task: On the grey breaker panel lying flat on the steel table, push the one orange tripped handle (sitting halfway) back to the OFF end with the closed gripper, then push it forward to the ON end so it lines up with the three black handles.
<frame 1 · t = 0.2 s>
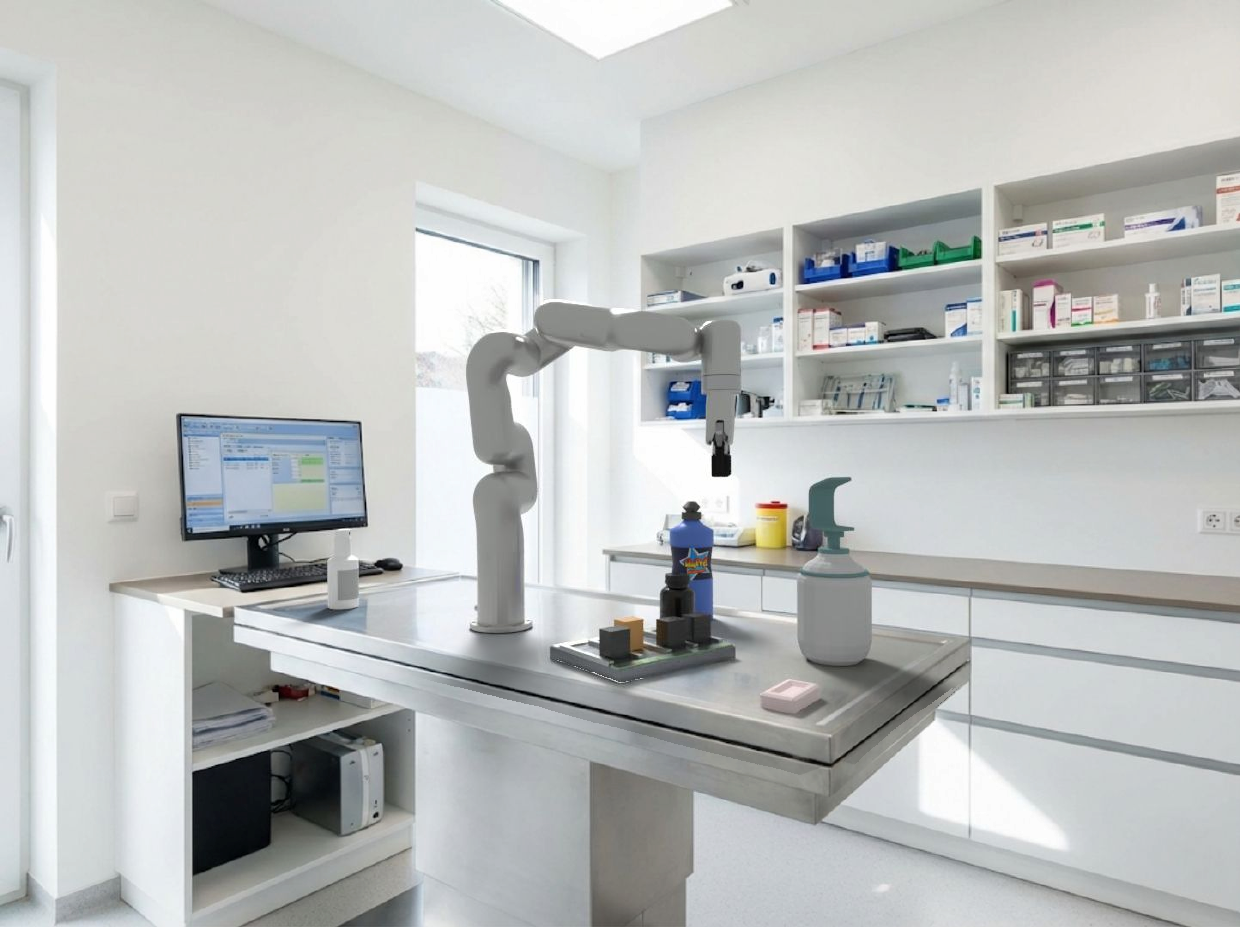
hand: (721, 476, 153), 31 cm above the table, tool pointing down, fingers open, 9 cm apart
soap bottle: (833, 660, 137), on the table
soap bar: (790, 706, 114), on the table
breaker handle: (628, 633, 137), point 5 cm above the table, slide at 4.0 cm
supplement bottle: (677, 636, 156), on the table
water bottle: (691, 619, 172), on the table
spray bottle: (343, 608, 186), on the table
breaker panel: (642, 658, 139), on the table
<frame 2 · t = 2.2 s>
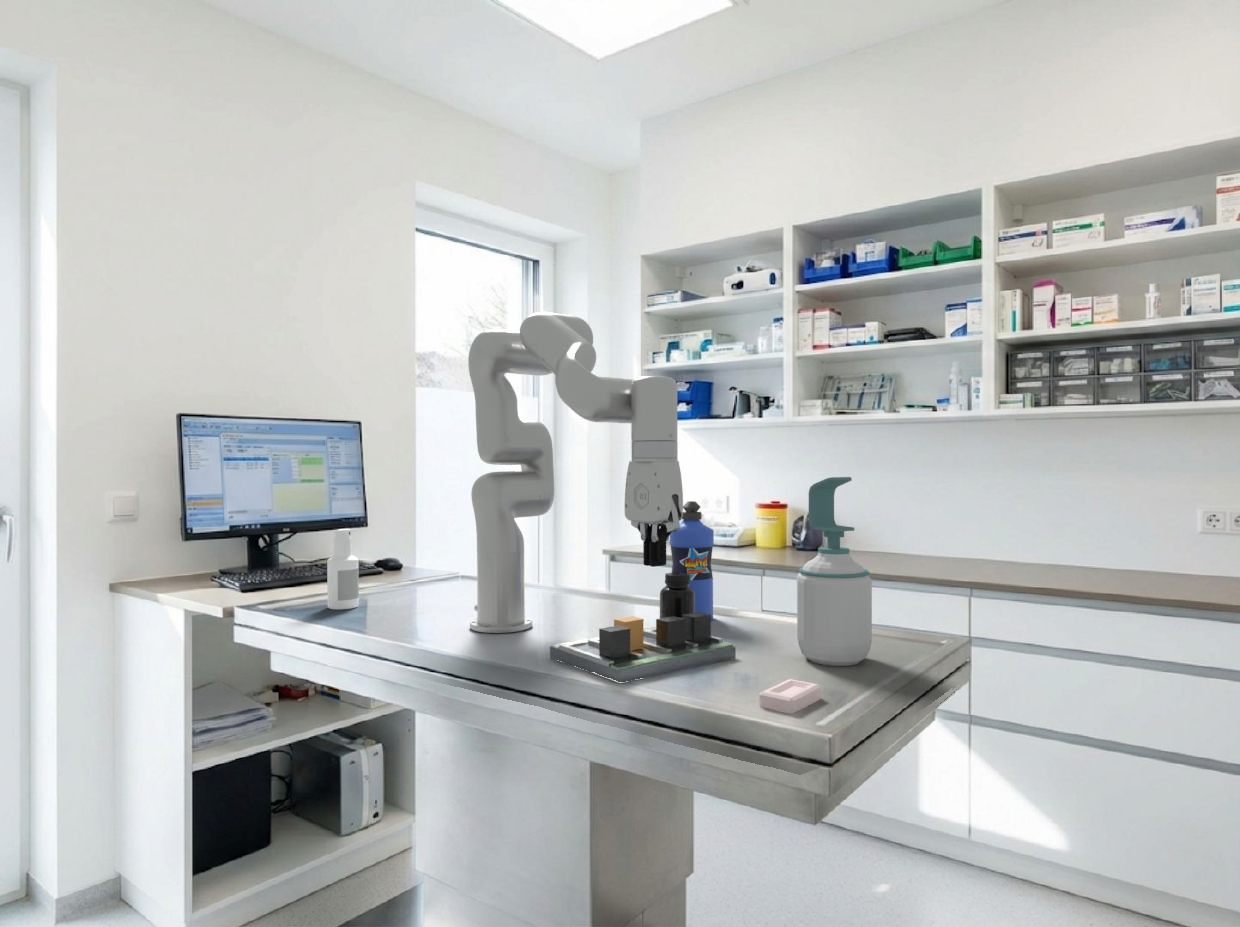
hand: (654, 564, 131), 17 cm above the table, tool pointing down, fingers closed
nothing on the table moved.
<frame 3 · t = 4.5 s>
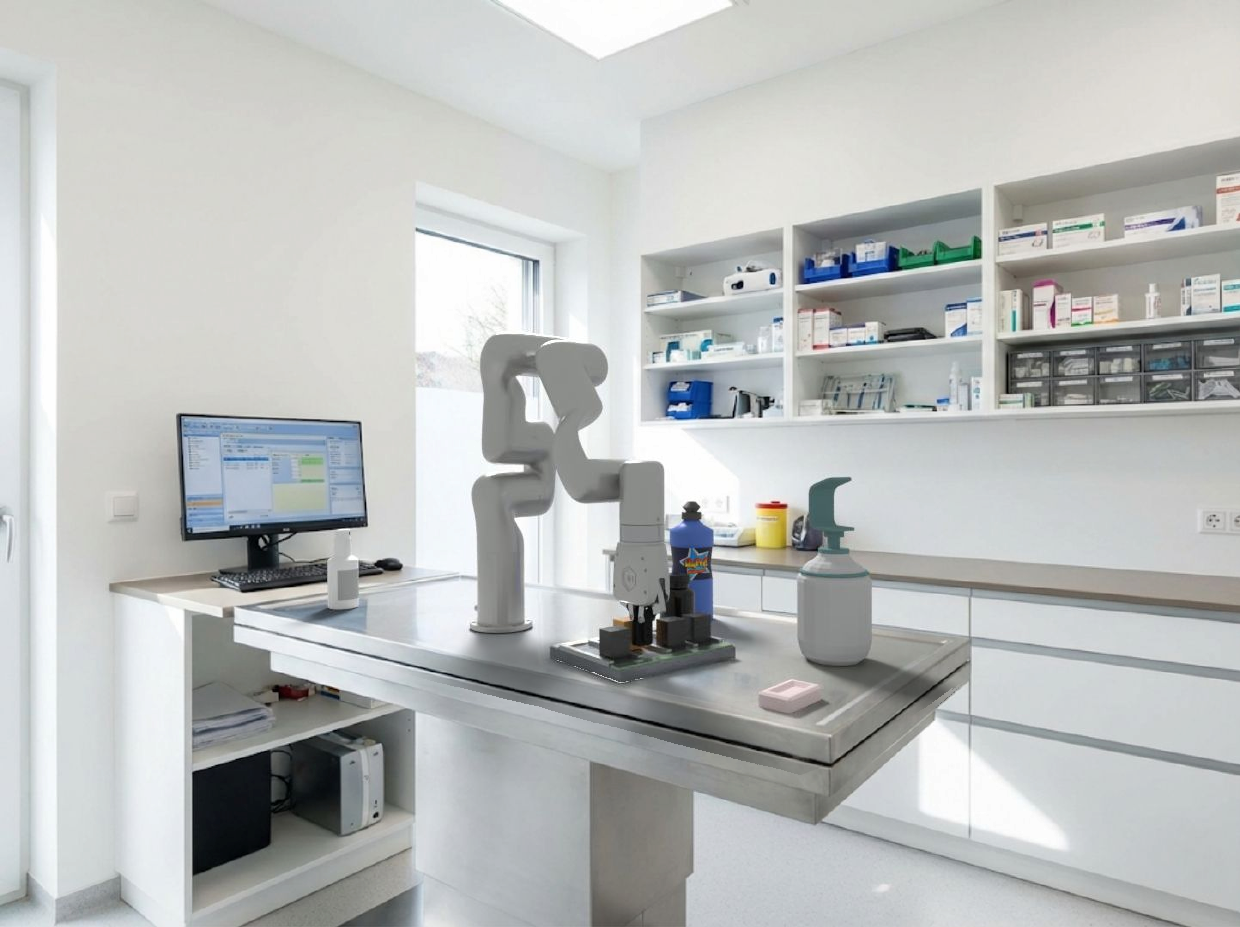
hand: (642, 644, 134), 3 cm above the table, tool pointing down, fingers closed
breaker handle: (627, 633, 137), point 5 cm above the table, slide at 3.7 cm, touching gripper
everything else where it was.
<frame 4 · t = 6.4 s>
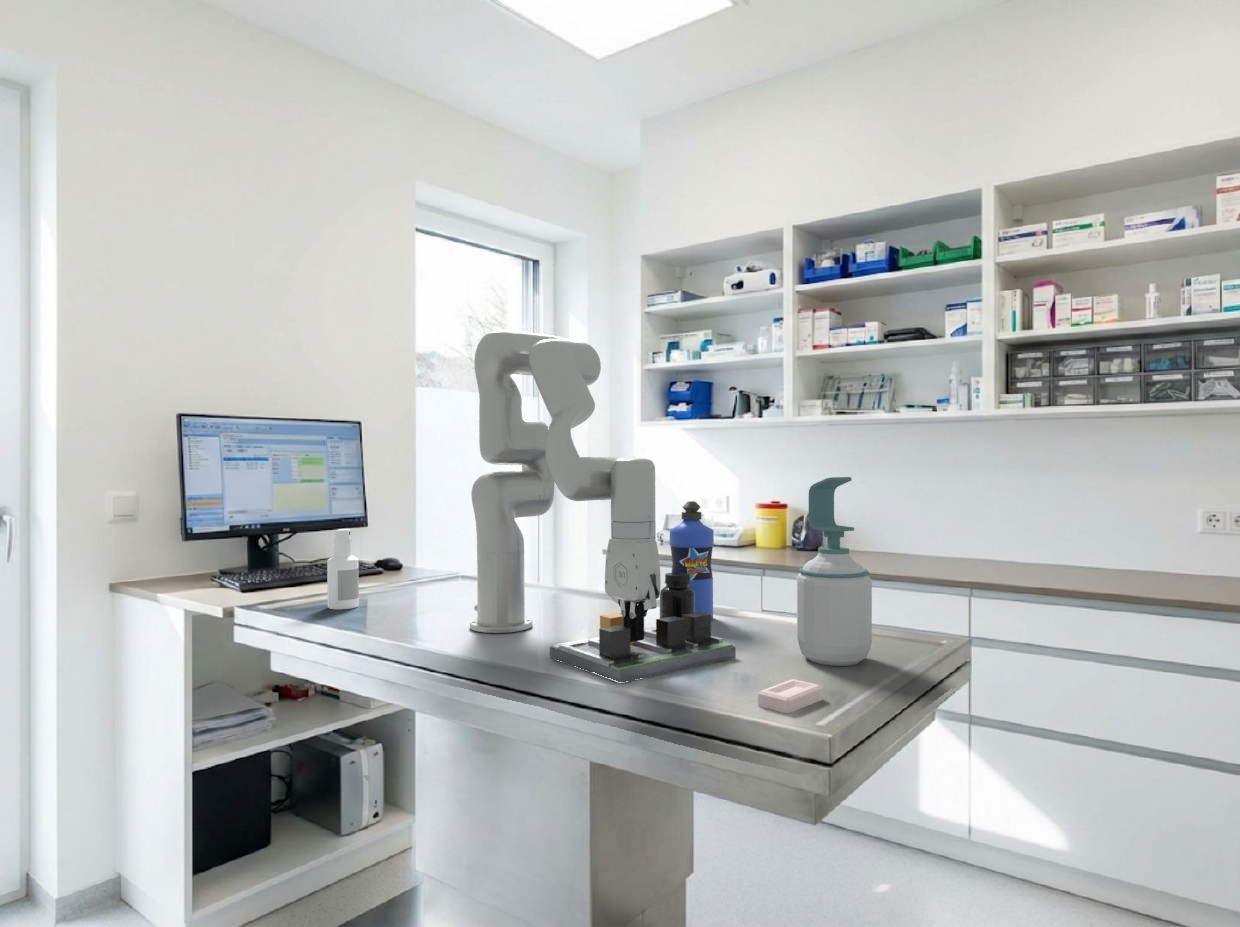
hand: (633, 639, 136), 4 cm above the table, tool pointing down, fingers closed
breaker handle: (614, 629, 140), point 5 cm above the table, slide at 0.0 cm
everything else where it was.
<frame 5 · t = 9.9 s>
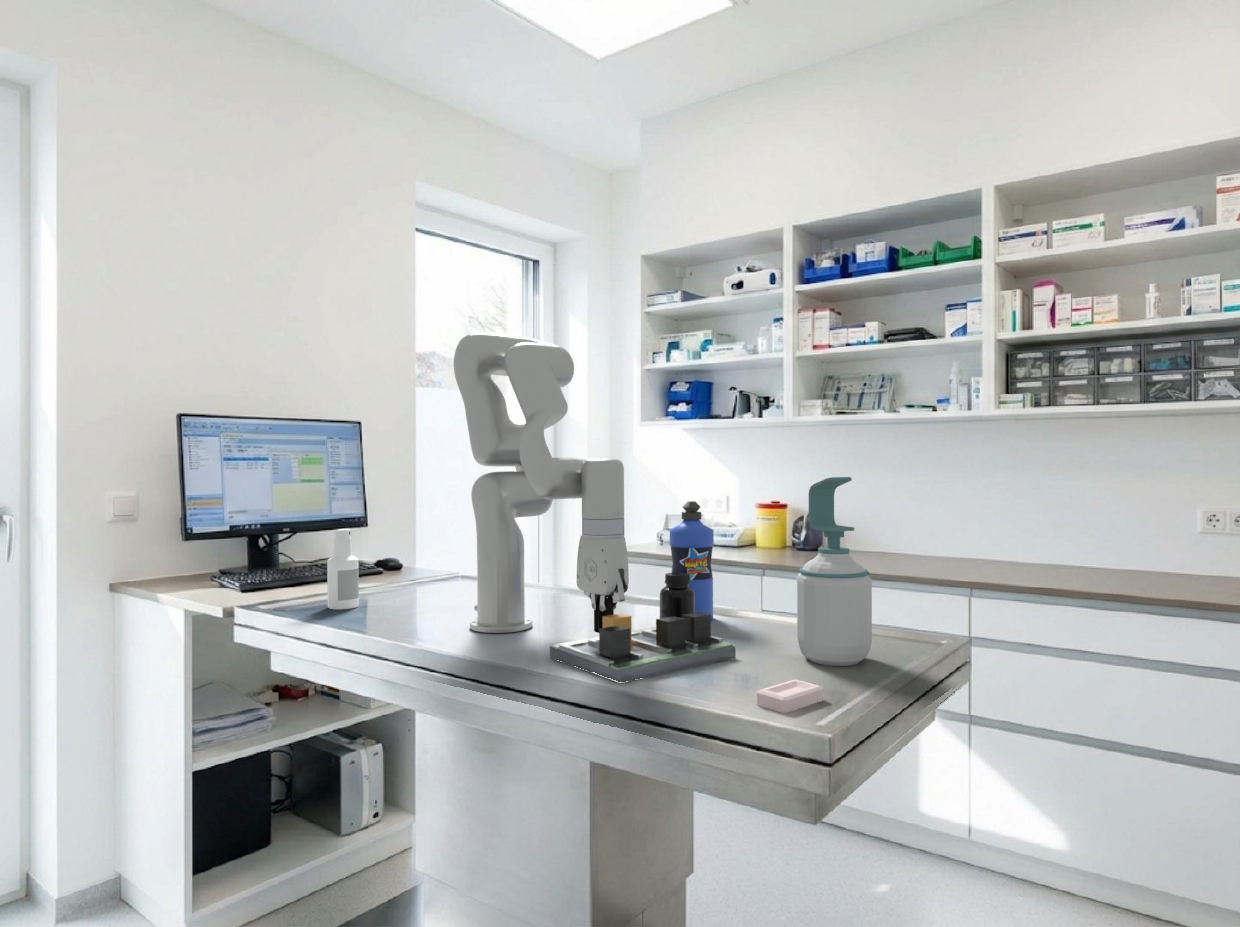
hand: (604, 631, 143), 4 cm above the table, tool pointing down, fingers closed
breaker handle: (617, 630, 140), point 5 cm above the table, slide at 0.7 cm, touching gripper
everything else where it was.
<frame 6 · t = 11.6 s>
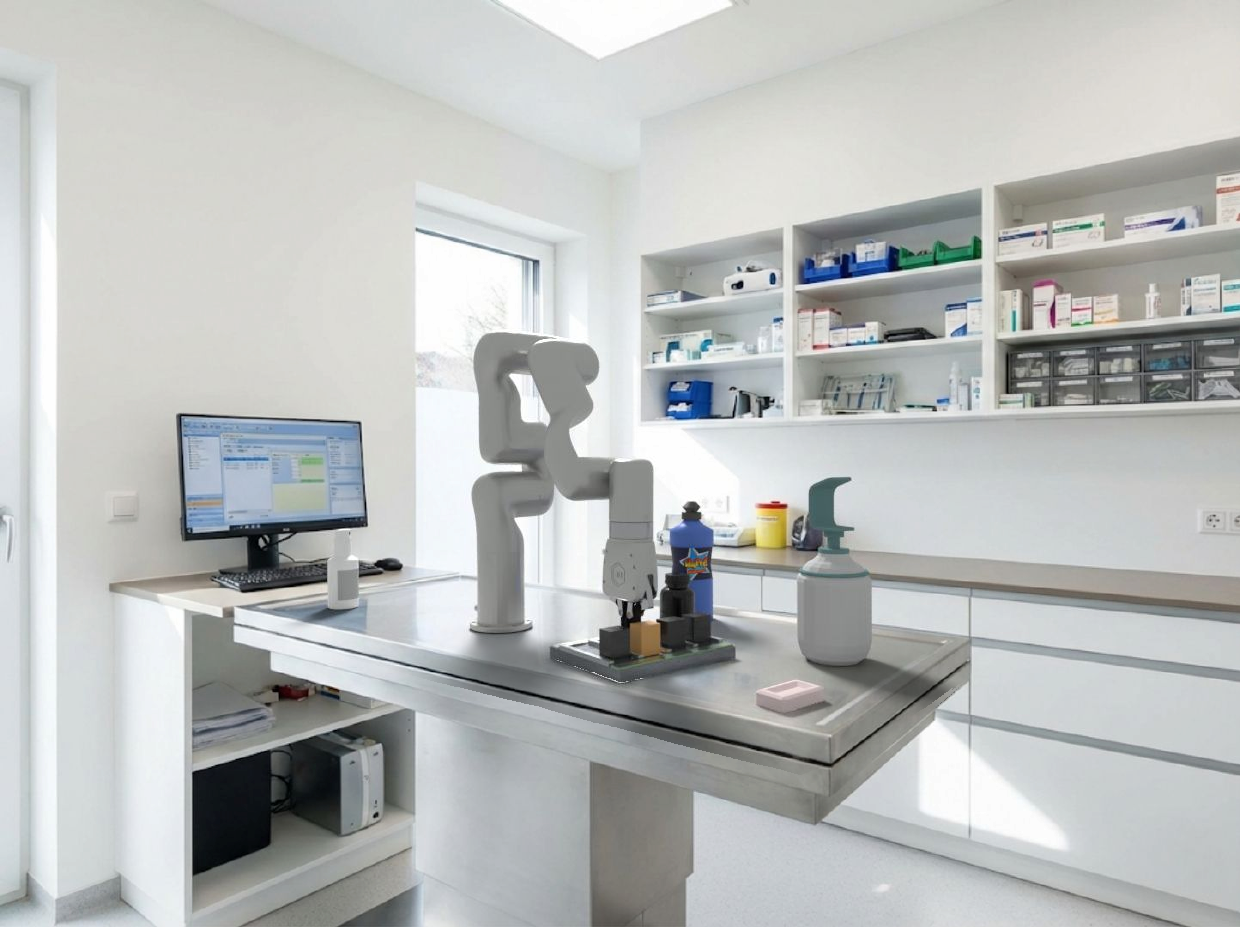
hand: (630, 639, 137), 4 cm above the table, tool pointing down, fingers closed
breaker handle: (645, 638, 133), point 5 cm above the table, slide at 8.4 cm, touching gripper
everything else where it was.
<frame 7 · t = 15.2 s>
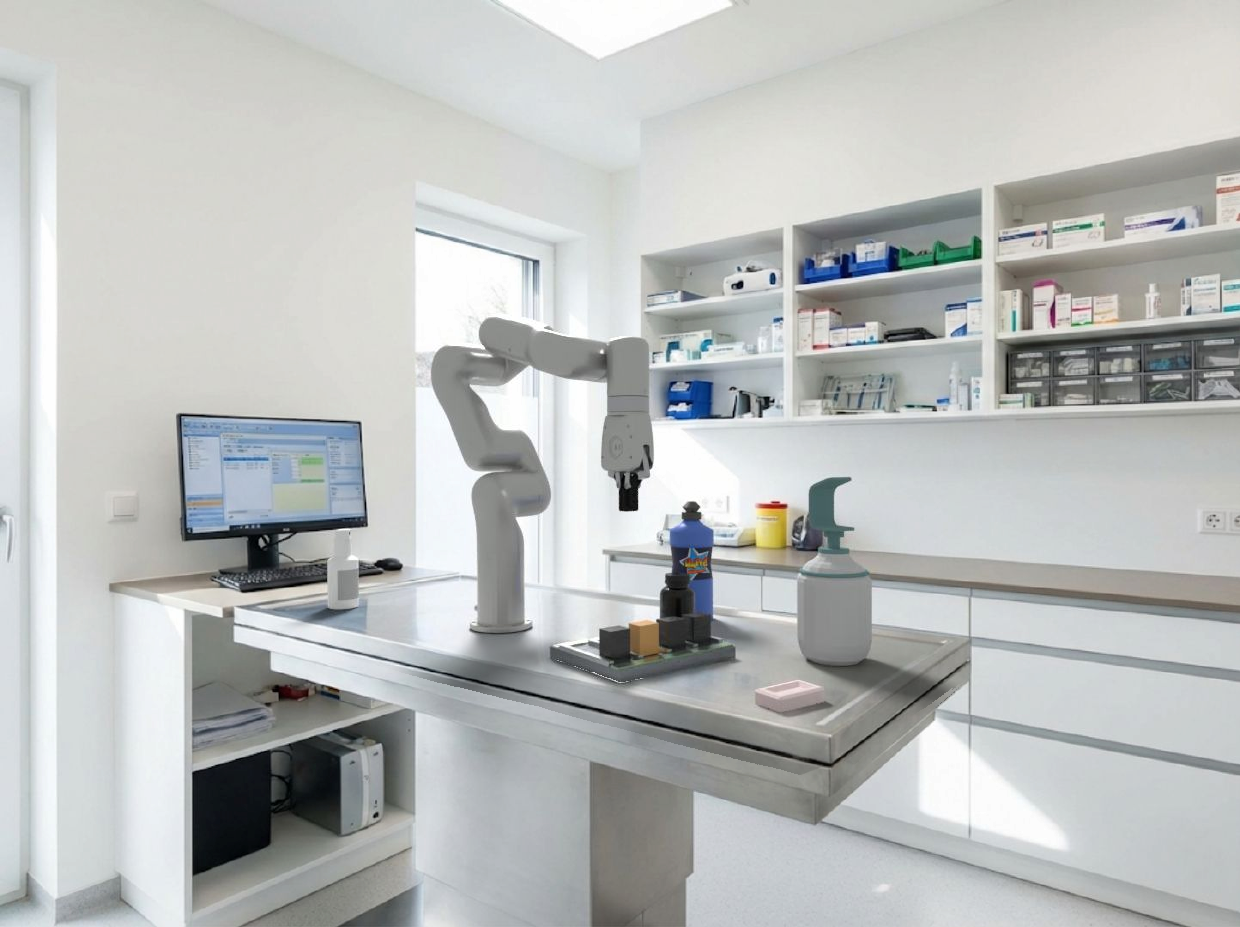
hand: (628, 510, 143), 25 cm above the table, tool pointing down, fingers closed
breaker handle: (643, 638, 134), point 5 cm above the table, slide at 8.0 cm
at the end: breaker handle slide at 8.0 cm; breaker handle touching nothing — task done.
